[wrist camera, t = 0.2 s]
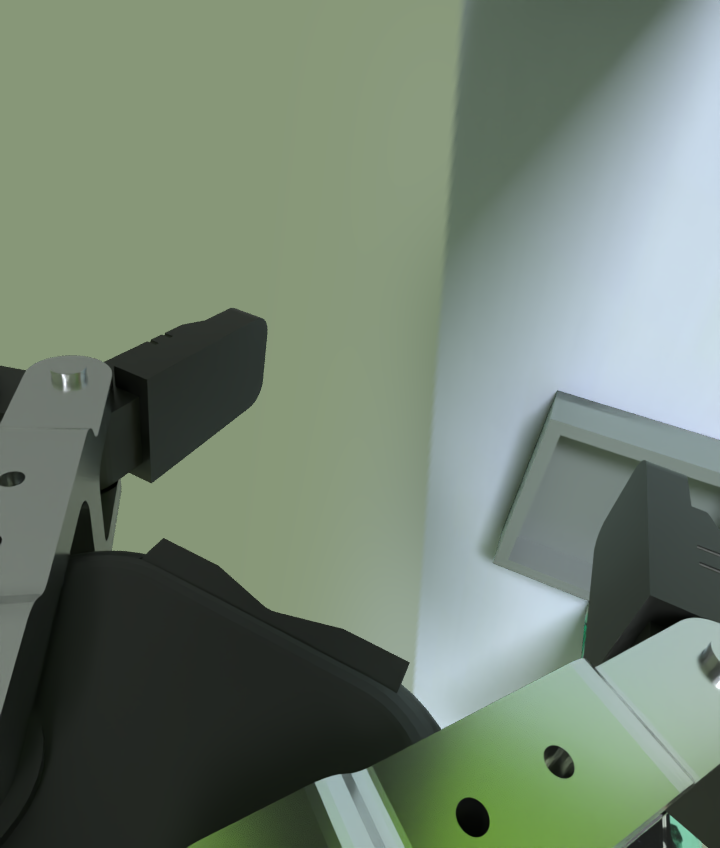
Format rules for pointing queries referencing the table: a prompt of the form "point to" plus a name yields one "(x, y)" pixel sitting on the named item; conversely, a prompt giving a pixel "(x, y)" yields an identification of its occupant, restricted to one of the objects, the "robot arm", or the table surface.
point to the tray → (593, 486)
